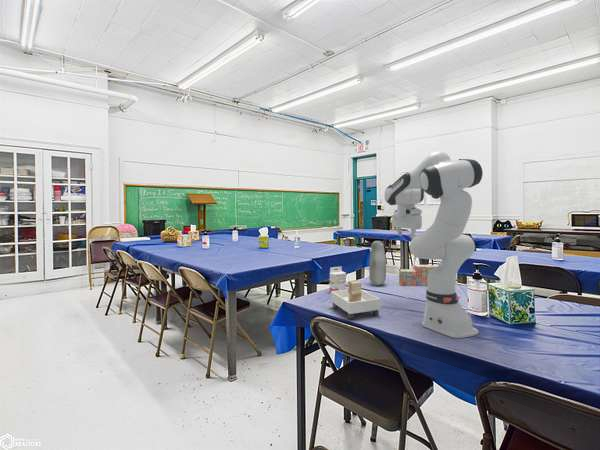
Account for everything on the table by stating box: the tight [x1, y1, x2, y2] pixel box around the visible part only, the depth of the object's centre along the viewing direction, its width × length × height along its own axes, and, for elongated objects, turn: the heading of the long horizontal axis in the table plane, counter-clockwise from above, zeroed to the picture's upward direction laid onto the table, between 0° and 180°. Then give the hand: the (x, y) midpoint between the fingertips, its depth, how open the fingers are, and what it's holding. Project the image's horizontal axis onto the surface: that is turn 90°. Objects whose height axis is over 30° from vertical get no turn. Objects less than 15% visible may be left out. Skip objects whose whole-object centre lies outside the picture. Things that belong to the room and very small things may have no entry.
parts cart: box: [330, 288, 382, 320], centre depth 158 cm, size 20×16×8 cm
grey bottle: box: [368, 240, 387, 286], centre depth 205 cm, size 10×10×28 cm
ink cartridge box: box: [329, 265, 347, 293], centre depth 191 cm, size 9×5×15 cm, turn 115°
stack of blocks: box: [398, 264, 437, 287], centre depth 205 cm, size 21×6×12 cm, turn 85°
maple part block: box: [347, 279, 362, 302], centre depth 158 cm, size 4×4×10 cm
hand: (405, 236), depth 171 cm, fingers open, 8 cm apart
